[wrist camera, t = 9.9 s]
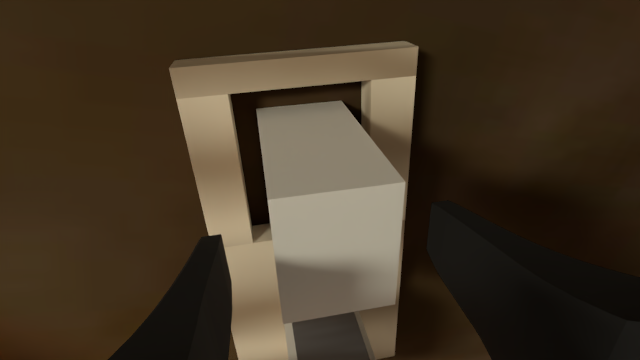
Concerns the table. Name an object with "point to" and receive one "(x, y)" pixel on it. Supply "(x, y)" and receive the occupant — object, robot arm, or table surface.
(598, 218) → the table surface
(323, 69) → the beige piece
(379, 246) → the off-white rectangular block
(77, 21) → the table surface
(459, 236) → the robot arm
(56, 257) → the table surface
